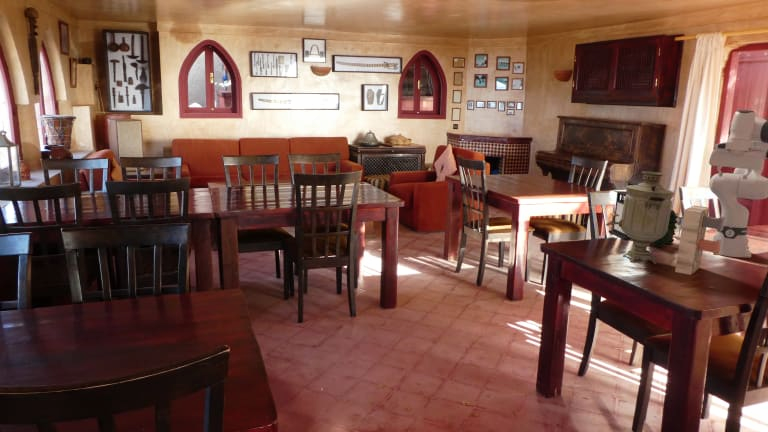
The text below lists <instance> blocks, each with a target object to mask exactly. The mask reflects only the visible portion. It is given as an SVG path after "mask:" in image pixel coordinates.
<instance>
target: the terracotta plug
mask: <svg viewBox="0 0 768 432" xmlns="http://www.w3.org/2000/svg"><path fill="white" fill-rule="evenodd" d="M720 245H721V240H717V241H713V240H709V239H700V240H699V244H698V250H703V251H704V252H709V253H713V254H712V255H714V256H717V255H719V254H718V253H719V251H720ZM703 251H702V252H703Z"/></svg>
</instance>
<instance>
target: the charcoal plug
mask: <svg viewBox="0 0 768 432" xmlns="http://www.w3.org/2000/svg"><path fill="white" fill-rule="evenodd" d="M724 221H725V217H723V216H722V217H721V216H720V217H716V216H715V217H714V216H709V215H708V216H703V219H702V225H701V227H706V229H707V228H708V229H715V230H716V232H721V231H722V230H723V227H724Z"/></svg>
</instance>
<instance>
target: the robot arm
mask: <svg viewBox="0 0 768 432" xmlns="http://www.w3.org/2000/svg"><path fill="white" fill-rule="evenodd" d="M728 135H729V137H728V138H727V141H725V142H721V143H716V144H715V146H714V149H713V151H712V152H711V154H710V157H709V161H708V164H709V165H710V166H712V167H713V166H714V167H716V170H717V172H718V173H715V174H714V175H712V177H710V180H709V183H708V186H709V190H710V191H711V193H713V194H714V195H715V196H716V197H717V199H718V201H719V202H720V203H719V204H720V206H721V215H720V217H722V216H723V217H725V221H724V227H723V230H722V231H721V232H718V231H716V233H714V234H713V236H712V241H717V240H721V245H720V251H719V253H718V254H717V255H721V256H725V257H732V258H748V259H749V258H752V254H751V250H750V246H749V242H750V240H749V238H748V236H747V233H748V222H749V216H750V211H749V209H748V208H747V207H746V206H744V205H742V204H741V203H739V202H738V200H737V198H741V199H749V200H765V199H767V198H768V177H765V176H763V175H762V173H763V171H764V167H765V160H766V159H768V120H767V119H765V118H764V117H762V116H761V117H760V116H756V112H755V111H754V110H747V109H743V110H742V109H739V110H737V111H735V112H734V115H733V117H732V120H731V123H730V124H729V128H728ZM722 167H723V168H724V167H726V168H732V169H733V168H734V171H733V173H730V172H722V171H721V170H722Z"/></svg>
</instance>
